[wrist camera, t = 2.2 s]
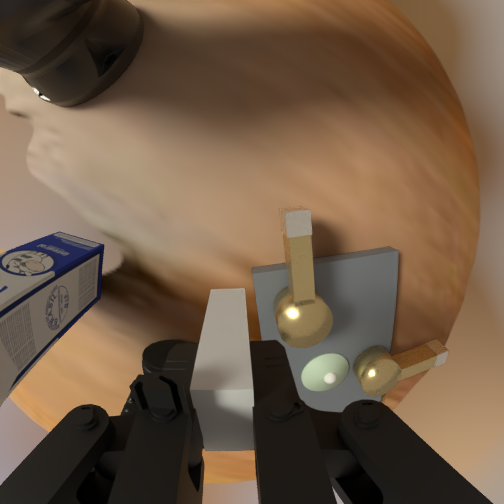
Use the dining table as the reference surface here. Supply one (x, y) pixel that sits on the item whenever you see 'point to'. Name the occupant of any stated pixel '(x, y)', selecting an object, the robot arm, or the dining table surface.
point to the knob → (300, 285)
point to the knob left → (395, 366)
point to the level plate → (336, 321)
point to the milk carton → (43, 299)
